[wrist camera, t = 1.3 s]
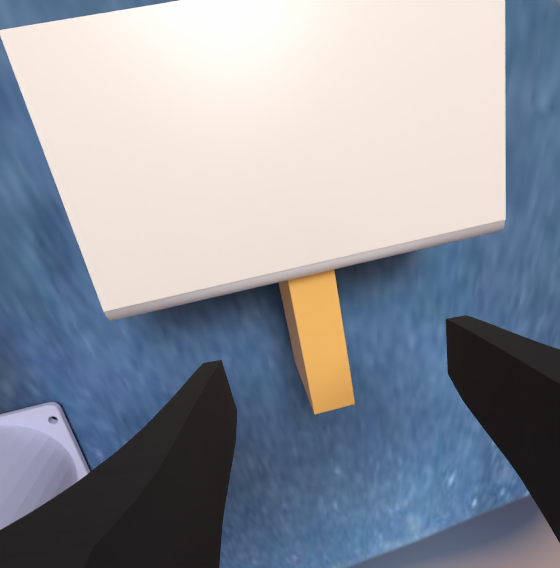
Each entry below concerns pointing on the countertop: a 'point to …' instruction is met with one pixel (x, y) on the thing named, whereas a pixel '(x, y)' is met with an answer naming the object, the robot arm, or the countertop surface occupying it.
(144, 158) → the dispenser
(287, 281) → the tab
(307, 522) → the countertop surface
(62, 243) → the countertop surface
